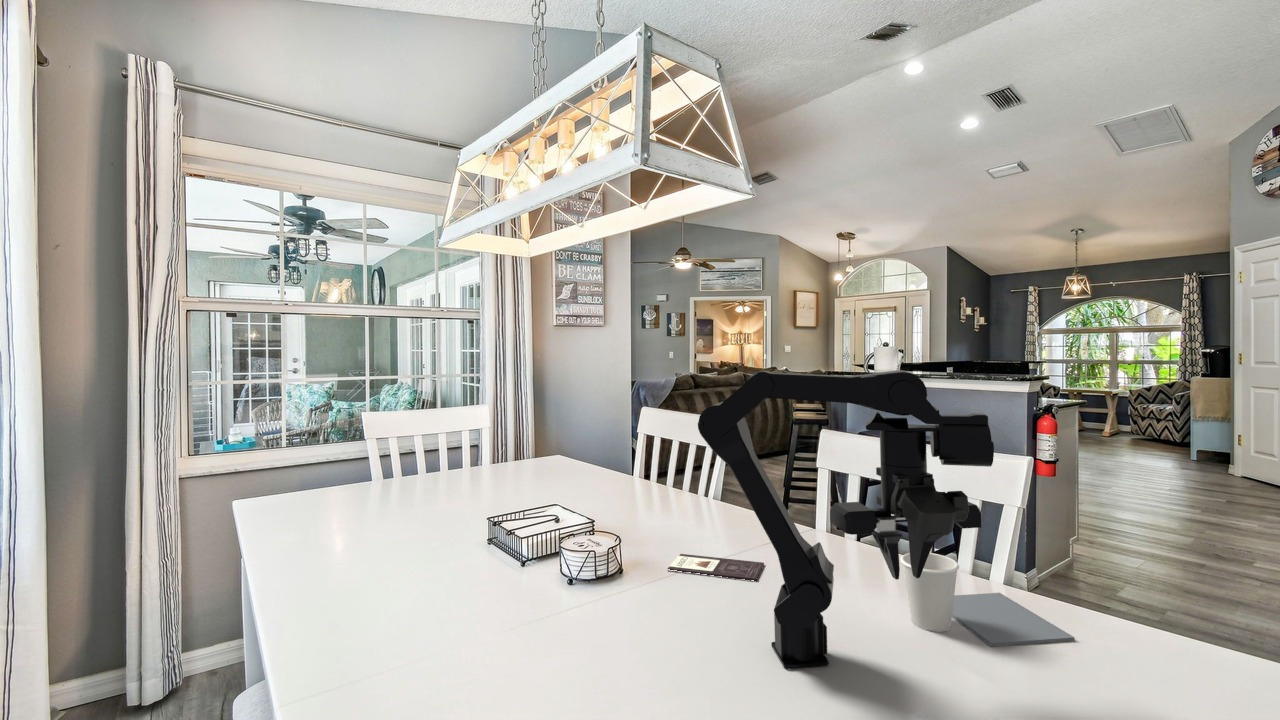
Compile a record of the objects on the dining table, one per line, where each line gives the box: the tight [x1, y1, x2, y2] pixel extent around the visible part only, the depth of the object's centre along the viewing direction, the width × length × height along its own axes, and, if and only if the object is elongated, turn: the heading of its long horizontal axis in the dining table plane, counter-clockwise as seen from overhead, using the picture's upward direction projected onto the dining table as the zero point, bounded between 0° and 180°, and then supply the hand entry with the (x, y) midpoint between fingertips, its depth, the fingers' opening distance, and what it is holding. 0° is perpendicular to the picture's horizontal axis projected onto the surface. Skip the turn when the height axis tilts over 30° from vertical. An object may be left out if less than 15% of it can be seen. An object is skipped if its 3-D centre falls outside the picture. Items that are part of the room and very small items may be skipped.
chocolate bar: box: [667, 553, 765, 582], centre depth 118 cm, size 9×1×18 cm
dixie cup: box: [900, 552, 960, 633], centre depth 92 cm, size 8×8×10 cm
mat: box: [951, 592, 1076, 647], centre depth 93 cm, size 13×16×1 cm
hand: (905, 577), depth 78 cm, fingers open, 3 cm apart
